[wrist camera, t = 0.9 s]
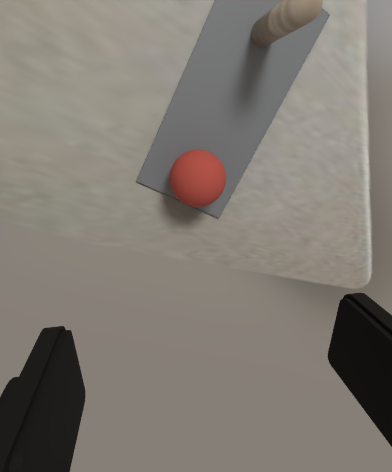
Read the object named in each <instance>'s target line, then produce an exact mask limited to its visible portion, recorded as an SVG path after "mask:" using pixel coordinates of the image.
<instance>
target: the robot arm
mask: <svg viewBox="0 0 392 472" xmlns="http://www.w3.org/2000/svg"><path fill="white" fill-rule="evenodd" d="M328 360H329V362H330V364H331V366H332V367H333V368H334V370H335V371H336V373H337V374H338V375H339V377H340V378H341V379H342V381H343V382H344V383H345V385H346V386H347V387H348V389H349V390H350V391H351V393H352V394H353V395H354V396H355V398H356V399H357V401H358V402H359V404H360V405H361V406H362V408H363V409H364V410H365V412H366V413H367V414H368V416H369V417H370V418H371V420H372V421H373V422H374V423H375V425H376V426H377V428H378V429H379V430H380V432H381V433H382V434H383V436H384V437H385V438H386V440H387V441H388V442H389V444H390V445H391V446H392V315H390V314H389V313H388V312H387V311H385V310H384V309H383V308H382V307H380V306H379V305H378V304H377V303H376V302H374V301H373V300H372V299H371V298H369V297H368V296H367V295H365V294H364V293H354V294H347V295H345V296H344V298H343V299H342V300H340V303H339V307H338V312H337V316H336V321H335V325H334V329H333V334H332V338H331V343H330V347H329V351H328ZM84 402H85V387H84V383H83V379H82V375H81V370H80V366H79V361H78V357H77V353H76V349H75V345H74V340H73V336H72V332H71V330H65V327H64V326H59V327H51V328H44V329H43V330H42V331H41V333H40V335H39V337H38V339H37V341H36V343H35V345H34V347H33V349H32V352H31V353H30V356H29V357H28V360H27V362H26V364H25V366H24V368H23V370H22V372H21V374H20V376H19V377H14V378H12V379H11V380H10V381H9V383H8V384H7V385H6V388H5V389H4V391H3V393H2V395H1V397H0V472H70V467H71V463H72V458H73V453H74V449H75V444H76V440H77V435H78V430H79V425H80V421H81V417H82V412H83V407H84Z"/></svg>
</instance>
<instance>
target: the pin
mask: <svg viewBox="0 0 392 472" xmlns="http://www.w3.org/2000/svg"><path fill="white" fill-rule="evenodd" d="M322 1H323V0H283V1H281V2H280V3H279V4H278V5H276V6H275V7H274V8H272V9H271V10H270V11H269V12H267V13H266V14H265V15H264V16H262V17H261V18H260V19H259V20H257V21H256V22H255V23H254V25H253V27H252V31H251V37H252V40H253V42H254V44H255V45H256V46H258V47H266V46H268V45H269V44H271V43H273V42H275V41H277V40H279V39H281V38H282V37H284V36H286V35H288V34H290V33H292V32H293V31H295V30H297V29H299V28H301V27H303V26H304V25H306V24H308V23H310V22H312V21H313V20H315V19H316V18H317V16H318V15H319V13H320V11H321V8H322Z"/></svg>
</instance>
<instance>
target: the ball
mask: <svg viewBox="0 0 392 472" xmlns="http://www.w3.org/2000/svg"><path fill="white" fill-rule="evenodd" d="M225 184H226V172H225V169H224V166H223V164H222V162H221V161H220V160H219V159H218V157H216V156H215V155H214V154H212V153H211V152H209V151H205V150H200V149H195V150H190V151H187V152H185V153H184V154H182V155H181V156H179V157H178V158H177V160H176V161H175V162H174V164H173V166H172V168H171V172H170V185H171V188H172V191H173V193H174V194H175V196H176V197H177V198H178V199H179V200H180V201H181V202H183V203H185V204H186V205H189V206H193V207H203V206H207V205H209V204H211V203H213V202H214V201H216V200H217V199H218V198H219V197H220V195H221V194H222V192H223V190H224V188H225Z"/></svg>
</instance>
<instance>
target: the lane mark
mask: <svg viewBox="0 0 392 472" xmlns="http://www.w3.org/2000/svg"><path fill="white" fill-rule="evenodd" d="M281 1H283V0H215V2H214V4H213V6H212V9H211V11H210V13H209V16H208V18H207V20H206V22H205V25H204V27H203V29H202V32H201V34H200V36H199V38H198V41H197V43H196V45H195V48H194V50H193V52H192V55H191V57H190V59H189V61H188V64H187V66H186V68H185V71H184V73H183V75H182V77H181V80H180V82H179V84H178V87H177V89H176V91H175V94H174V96H173V98H172V100H171V103H170V105H169V107H168V110H167V112H166V114H165V117H164V119H163V121H162V123H161V126H160V128H159V130H158V133H157V135H156V137H155V139H154V142H153V144H152V146H151V149H150V151H149V153H148V156H147V158H146V160H145V162H144V165H143V167H142V169H141V172H140V174H139V176H138V178H137V182H139V183H141V184H144V185H146V186H148V187H150V188H153V189H155V190H157V191H159V192H162V193H164V194H166V195H168V196H171V197H173V198H175V199H177V200H179V199H178V198H177V197H176V196H175V194H174V193H173V191H172V188H171V185H170V172H171V168H172V166H173V164H174V162H175V161H176V160H177V158H178V157H179V156H181V155H182V154H184V153H185V152H187V151H190V150H195V149H200V150H205V151H209V152H211V153H212V154H214V155H215V156H216V157H218V159H219V160H220V161H221V162H222V164H223V166H224V169H225V172H226V184H225V188H224V190H223V192H222V194H221V195H220V197H219V198H218V199H217V200H216V201H214V202H213V203H211V204H209V205H207V206H203V207H195V208H197V209H200V210H202V211H204V212H206V213H209V214H211V215H213V216H215V217H218V218H219V217H220V216H221V214H222V212H223V210H224V208H225V206H226V205H227V203H228V201H229V199H230V197H231V195H232V194H233V192H234V190H235V188H236V186H237V184H238V183H239V181H240V179H241V177H242V175H243V173H244V172H245V170H246V168H247V166H248V164H249V162H250V161H251V159H252V157H253V155H254V153H255V151H256V150H257V148H258V146H259V144H260V142H261V140H262V139H263V137H264V135H265V133H266V131H267V129H268V128H269V126H270V124H271V122H272V120H273V118H274V117H275V115H276V113H277V111H278V109H279V107H280V106H281V104H282V102H283V100H284V98H285V96H286V95H287V93H288V91H289V89H290V87H291V85H292V84H293V82H294V80H295V78H296V76H297V74H298V73H299V71H300V69H301V67H302V65H303V63H304V62H305V60H306V58H307V56H308V54H309V52H310V51H311V49H312V47H313V45H314V43H315V41H316V40H317V38H318V36H319V34H320V32H321V30H322V29H323V27H324V25H325V23H326V21H327V19H328V18H329V16H330V15H329V14H328V13H327V12H326V11H325V10H324V9H323V8H321V11H320V13H319V15H318V16H317V18H316V19H315V20H313V21H312V22H310V23H308V24H306V25H304V26H303V27H301V28H299V29H297V30H295V31H293V32H292V33H290V34H288V35H286V36H284V37H282V38H281V39H279V40H277V41H275V42H273V43H271V44H269V45H268V46H266V47H258V46H256V45H255V44H254V42H253V40H252V37H251V31H252V27H253V25H254V23H255V22H256V21H257V20H259V19H260V18H261V17H262V16H264V15H265V14H266V13H267V12H269V11H270V10H271V9H272V8H274V7H275V6H276V5H278V4H279V3H280V2H281ZM179 201H180V200H179Z"/></svg>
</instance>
